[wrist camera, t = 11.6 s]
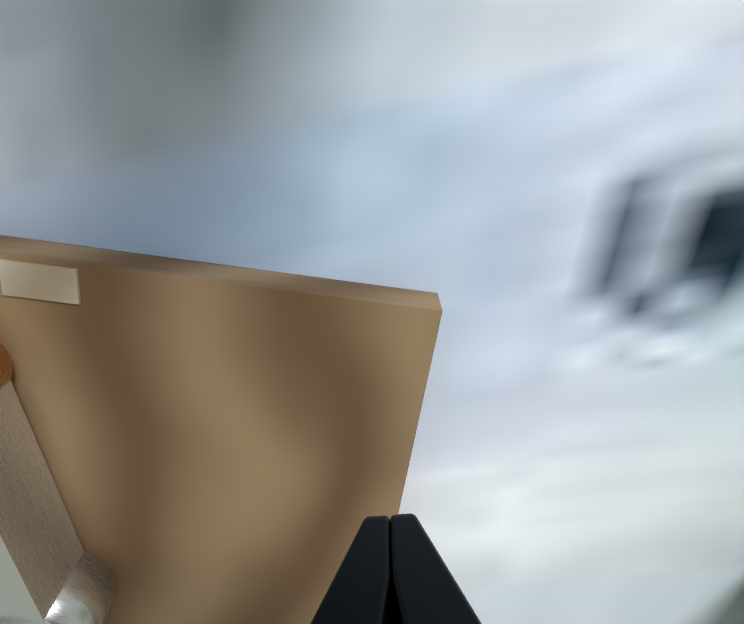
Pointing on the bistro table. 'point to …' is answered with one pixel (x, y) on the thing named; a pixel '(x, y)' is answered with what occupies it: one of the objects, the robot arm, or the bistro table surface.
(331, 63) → the bistro table surface
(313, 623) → the robot arm
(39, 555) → the lever
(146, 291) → the board
